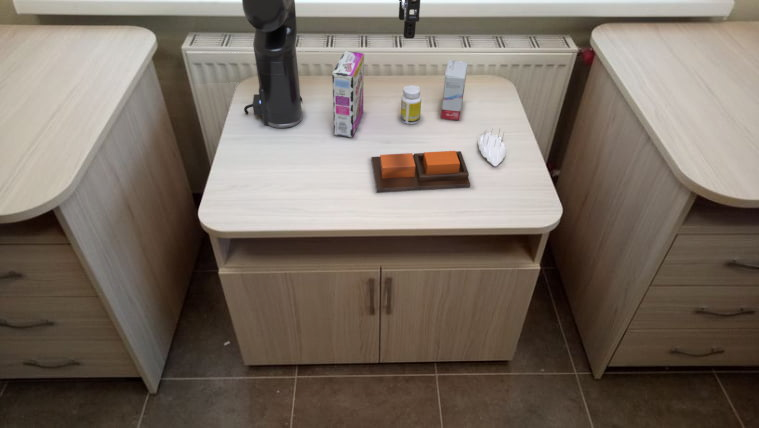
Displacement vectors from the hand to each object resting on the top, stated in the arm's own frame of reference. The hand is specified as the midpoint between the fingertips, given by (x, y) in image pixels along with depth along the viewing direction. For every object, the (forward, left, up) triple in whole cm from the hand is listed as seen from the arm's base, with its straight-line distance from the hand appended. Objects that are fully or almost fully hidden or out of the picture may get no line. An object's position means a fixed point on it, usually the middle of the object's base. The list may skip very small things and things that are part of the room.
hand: (406, 28), depth 113 cm
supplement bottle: (+3, +4, -26) cm, 26 cm away
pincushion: (+20, -10, -26) cm, 34 cm away
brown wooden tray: (+2, -17, -25) cm, 31 cm away
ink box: (+14, +7, -26) cm, 30 cm away
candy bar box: (-12, +3, -26) cm, 28 cm away
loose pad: (+6, -17, -24) cm, 30 cm away
